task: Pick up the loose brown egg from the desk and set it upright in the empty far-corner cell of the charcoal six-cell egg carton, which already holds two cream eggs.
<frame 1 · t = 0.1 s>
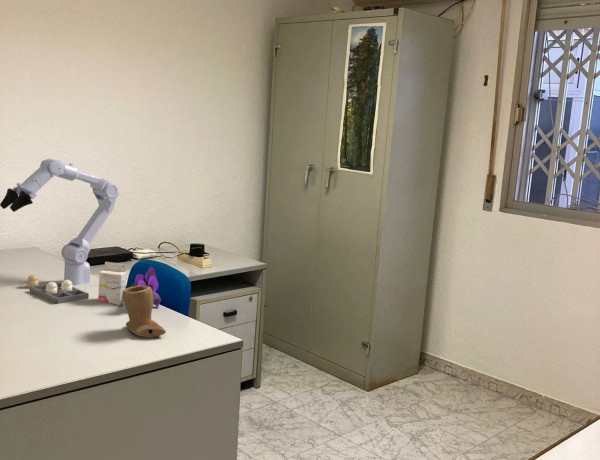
hand: (6, 208, 235), 32 cm above the table, tool tilted 50°, fingers open, 7 cm apart
carton: (58, 296, 243), on the table
brown egg: (32, 288, 250), on the table
ink cartridge box: (111, 303, 242), on the table
cream egg 2: (51, 296, 241), resting on carton
flower: (138, 307, 239), on the table
brown felt boot: (141, 332, 213), on the table
cream egg 1: (66, 294, 245), resting on carton
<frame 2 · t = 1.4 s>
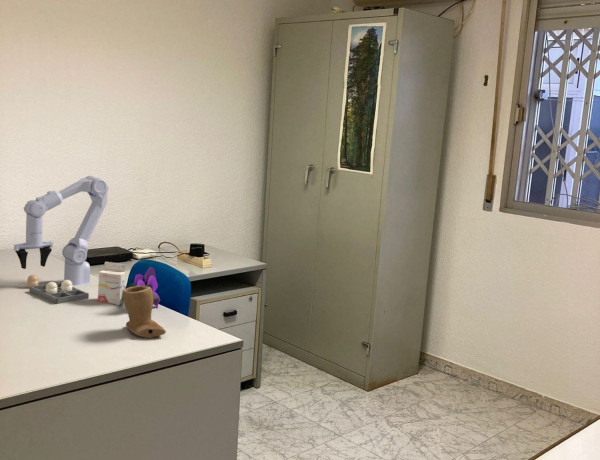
hand: (33, 267, 249), 8 cm above the table, tool pointing down, fingers open, 7 cm apart
nothing on the table moved.
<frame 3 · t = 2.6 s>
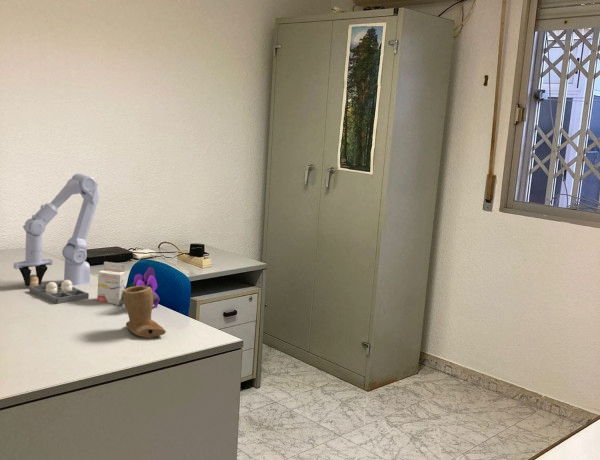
hand: (32, 285, 250), 1 cm above the table, tool pointing down, fingers closed on brown egg, 4 cm apart
brown egg: (32, 288, 250), on the table, touching gripper
everything else where it was.
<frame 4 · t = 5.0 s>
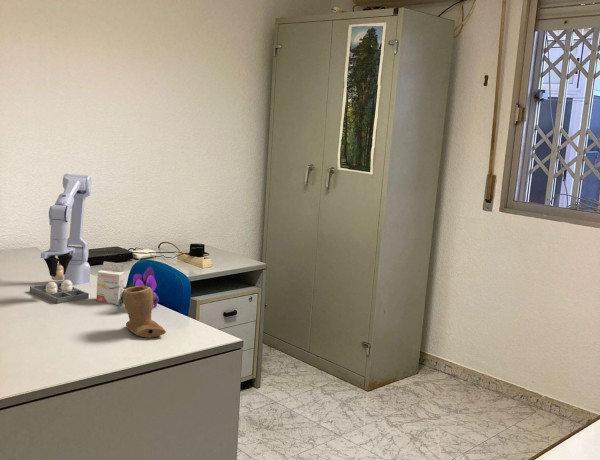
hand: (57, 275, 237), 9 cm above the table, tool pointing down, fingers closed on brown egg, 4 cm apart
brown egg: (57, 278, 237), point 8 cm above the table, touching gripper
everything else where it was.
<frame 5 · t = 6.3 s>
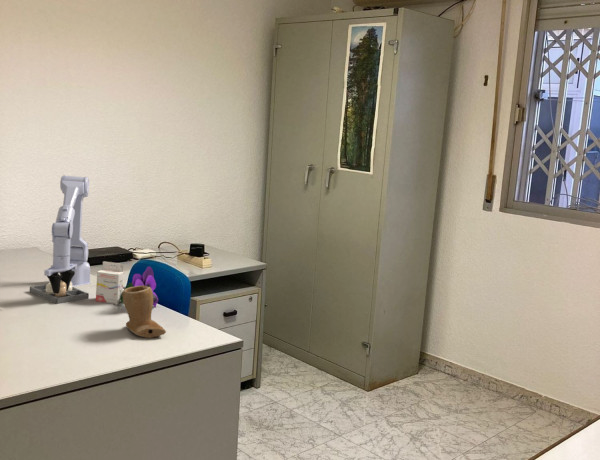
hand: (60, 291, 236), 4 cm above the table, tool pointing down, fingers closed on brown egg, 4 cm apart
brown egg: (60, 295, 236), point 2 cm above the table, touching gripper
when the fingers open (3 cm above the table, at t = 7.2 s): brown egg drops 1 cm, resting on carton.
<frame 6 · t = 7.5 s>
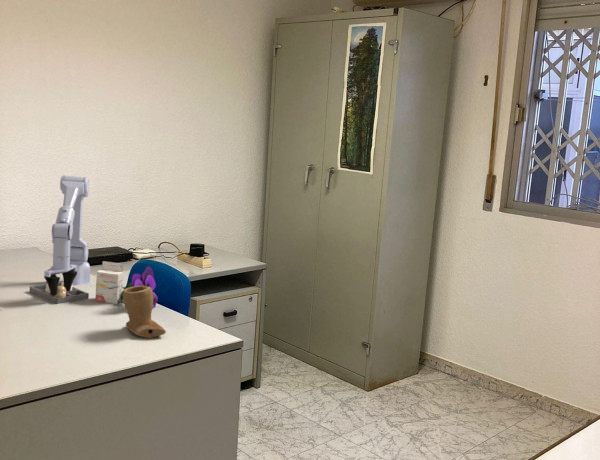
hand: (60, 292, 236), 3 cm above the table, tool pointing down, fingers open, 6 cm apart
brown egg: (59, 300, 237), point 1 cm above the table, touching carton
ink cartridge box: (108, 302, 242), on the table, touching flower
flower: (135, 307, 240), on the table, touching ink cartridge box
everything else where it was.
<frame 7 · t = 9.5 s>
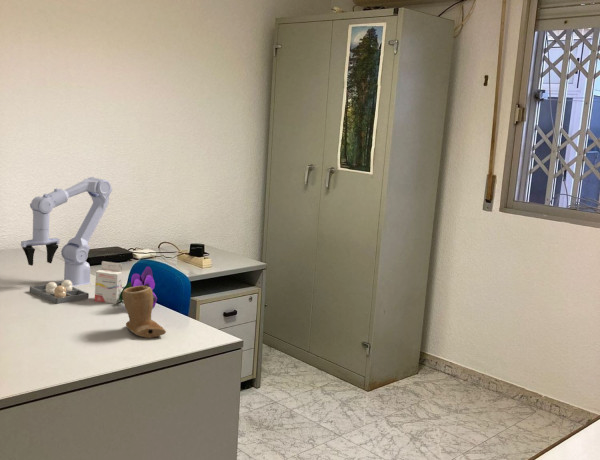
hand: (40, 263, 248), 10 cm above the table, tool pointing down, fingers open, 7 cm apart
ink cartridge box: (107, 302, 242), on the table
flower: (134, 307, 240), on the table
everything else where it was.
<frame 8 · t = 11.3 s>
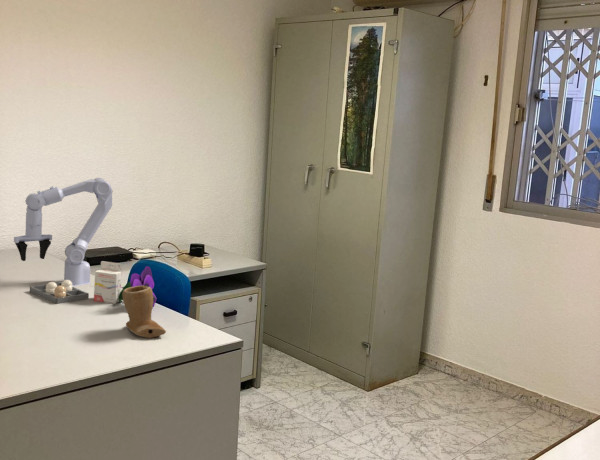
hand: (32, 259, 252), 10 cm above the table, tool pointing down, fingers open, 7 cm apart
nothing on the table moved.
at the end: brown egg 0.1 cm from the target spot on the carton, point 0.5 cm above the carton's base; brown egg tilted 0°; the gripper is holding nothing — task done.
